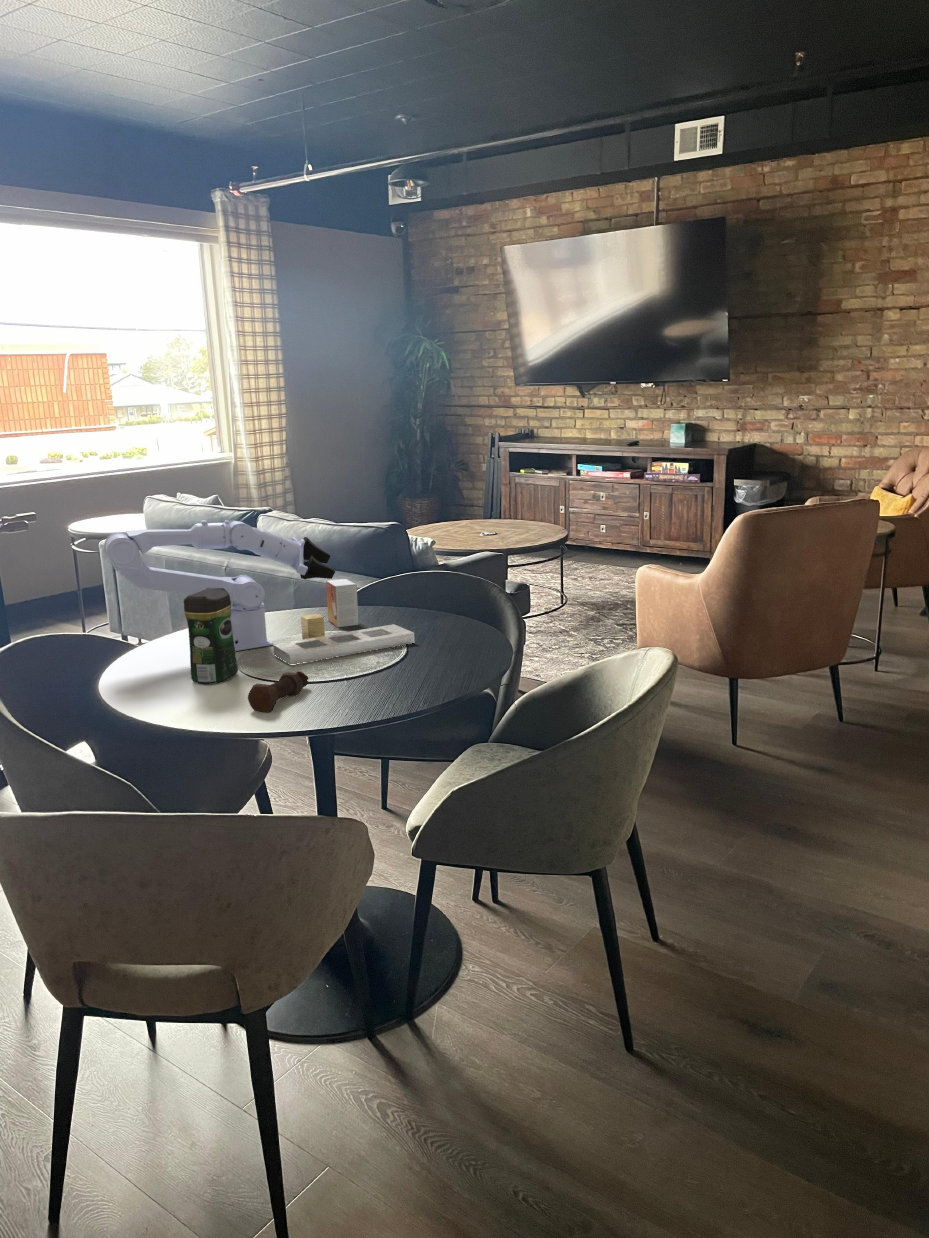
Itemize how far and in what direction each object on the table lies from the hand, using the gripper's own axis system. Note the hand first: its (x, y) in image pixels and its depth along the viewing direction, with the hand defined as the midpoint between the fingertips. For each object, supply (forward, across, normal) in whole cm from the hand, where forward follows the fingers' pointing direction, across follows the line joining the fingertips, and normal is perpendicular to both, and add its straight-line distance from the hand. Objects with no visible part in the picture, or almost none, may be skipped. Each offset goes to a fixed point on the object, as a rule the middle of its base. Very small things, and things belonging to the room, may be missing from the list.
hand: (330, 566), depth 216 cm
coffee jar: (-22, -31, +18) cm, 43 cm away
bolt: (-14, -48, +8) cm, 51 cm away
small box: (+11, +4, +16) cm, 20 cm away
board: (+5, -19, +10) cm, 22 cm away
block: (+1, -10, +15) cm, 18 cm away
